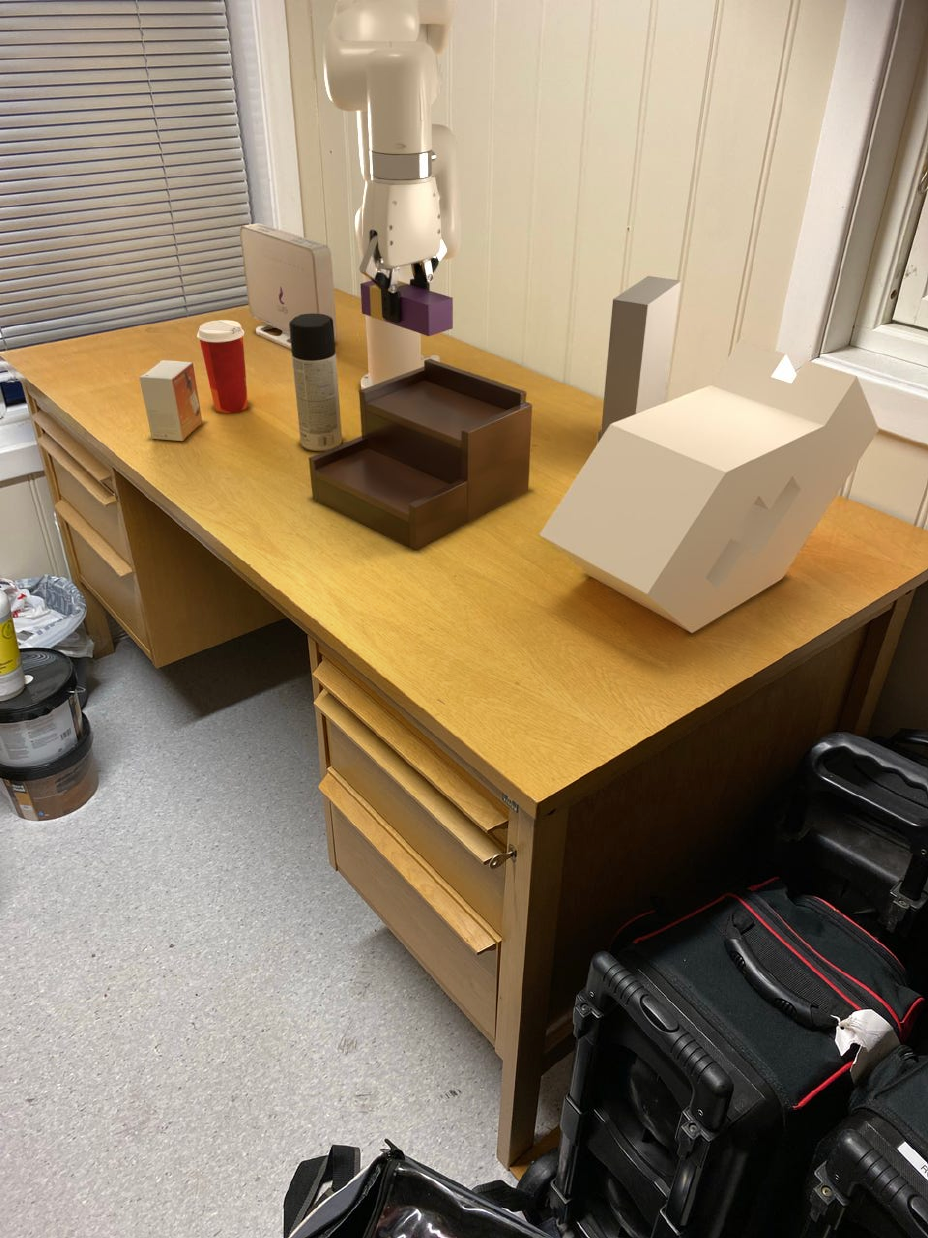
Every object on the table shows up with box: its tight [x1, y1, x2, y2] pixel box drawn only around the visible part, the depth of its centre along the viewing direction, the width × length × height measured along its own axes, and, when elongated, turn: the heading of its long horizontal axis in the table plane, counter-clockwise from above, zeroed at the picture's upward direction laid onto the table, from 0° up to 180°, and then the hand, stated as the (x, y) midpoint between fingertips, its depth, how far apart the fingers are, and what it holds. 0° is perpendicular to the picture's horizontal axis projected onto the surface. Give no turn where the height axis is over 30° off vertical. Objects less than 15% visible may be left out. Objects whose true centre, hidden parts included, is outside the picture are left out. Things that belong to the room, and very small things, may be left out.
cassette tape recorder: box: [596, 275, 682, 445], centre depth 145 cm, size 14×6×25 cm, turn 150°
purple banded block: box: [359, 281, 454, 337], centre depth 126 cm, size 4×13×4 cm, turn 46°
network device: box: [239, 222, 338, 350], centre depth 189 cm, size 26×9×20 cm, turn 43°
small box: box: [139, 359, 203, 442], centre depth 154 cm, size 8×6×10 cm
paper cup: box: [196, 319, 249, 414], centre depth 162 cm, size 8×8×14 cm
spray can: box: [289, 313, 343, 452], centre depth 148 cm, size 7×7×20 cm
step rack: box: [308, 359, 533, 551], centre depth 135 cm, size 23×21×15 cm
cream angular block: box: [539, 339, 880, 634], centre depth 116 cm, size 26×16×35 cm
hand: (406, 314), depth 127 cm, fingers closed on purple banded block, 4 cm apart
